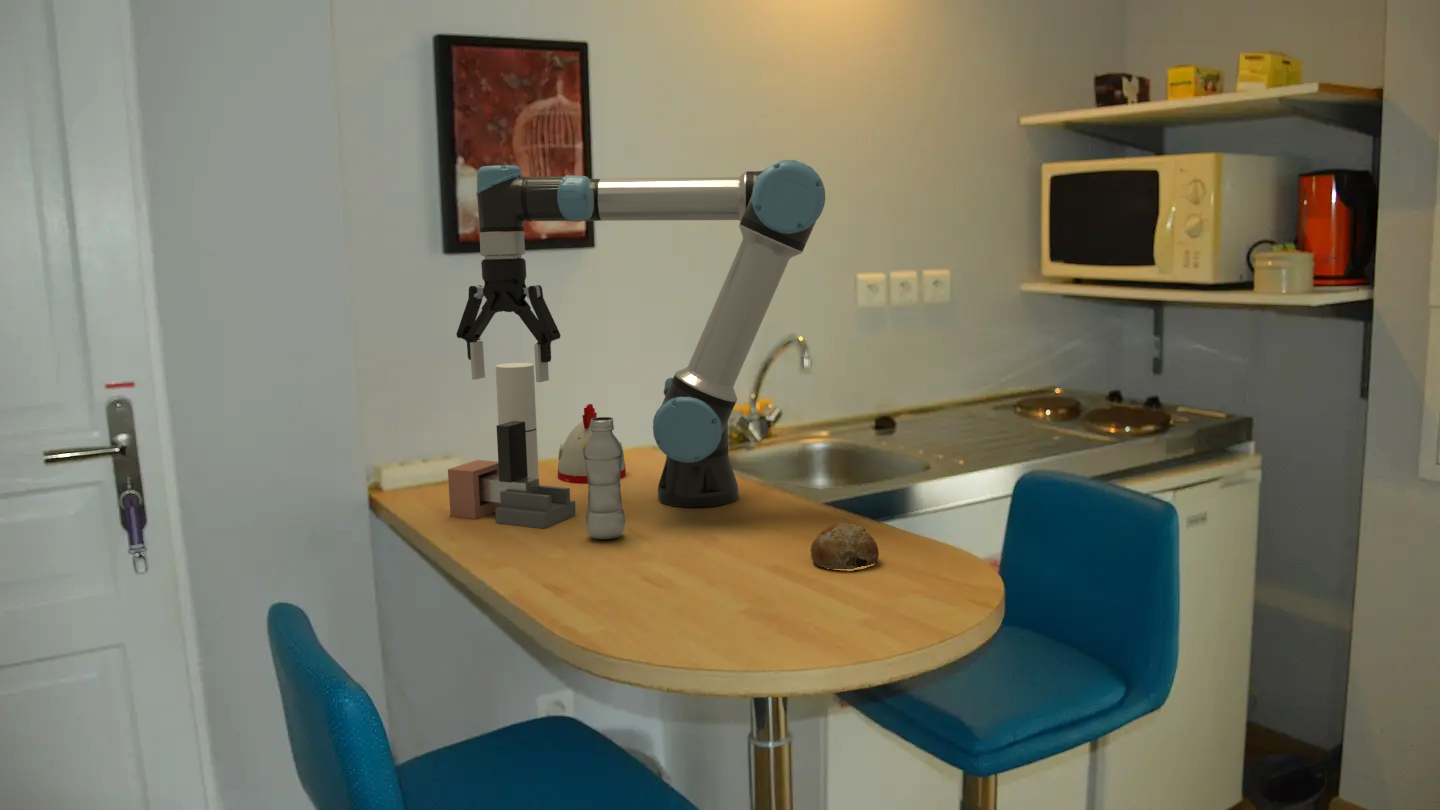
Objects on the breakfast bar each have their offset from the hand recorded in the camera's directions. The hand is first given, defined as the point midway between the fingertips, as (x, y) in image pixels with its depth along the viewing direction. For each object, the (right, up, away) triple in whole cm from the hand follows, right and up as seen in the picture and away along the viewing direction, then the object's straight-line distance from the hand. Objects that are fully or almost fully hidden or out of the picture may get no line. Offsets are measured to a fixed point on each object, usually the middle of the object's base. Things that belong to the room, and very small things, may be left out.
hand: (510, 380), depth 196 cm
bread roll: (+55, -29, -26) cm, 67 cm away
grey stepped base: (+4, -24, +2) cm, 25 cm away
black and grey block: (-2, -21, +5) cm, 22 cm away
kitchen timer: (+10, -19, +35) cm, 41 cm away
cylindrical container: (-2, -22, +21) cm, 30 cm away
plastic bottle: (+18, -27, -11) cm, 34 cm away
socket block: (-7, -24, +7) cm, 26 cm away
